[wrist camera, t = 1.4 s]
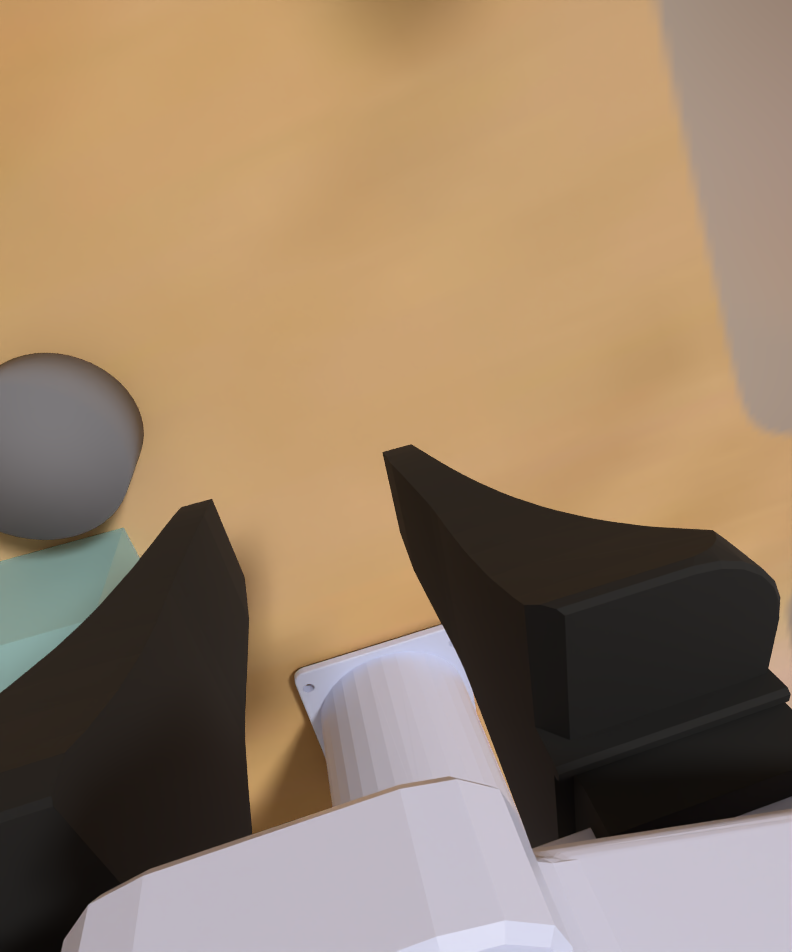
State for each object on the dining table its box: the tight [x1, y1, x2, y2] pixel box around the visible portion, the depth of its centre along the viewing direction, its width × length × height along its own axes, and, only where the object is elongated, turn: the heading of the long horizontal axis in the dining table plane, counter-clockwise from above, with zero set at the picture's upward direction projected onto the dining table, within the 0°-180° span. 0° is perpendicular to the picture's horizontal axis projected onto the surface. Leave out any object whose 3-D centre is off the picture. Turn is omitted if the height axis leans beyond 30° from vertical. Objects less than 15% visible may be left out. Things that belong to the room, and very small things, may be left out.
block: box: [0, 528, 140, 692], centre depth 20 cm, size 4×4×5 cm
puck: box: [0, 353, 144, 540], centre depth 18 cm, size 5×5×3 cm
